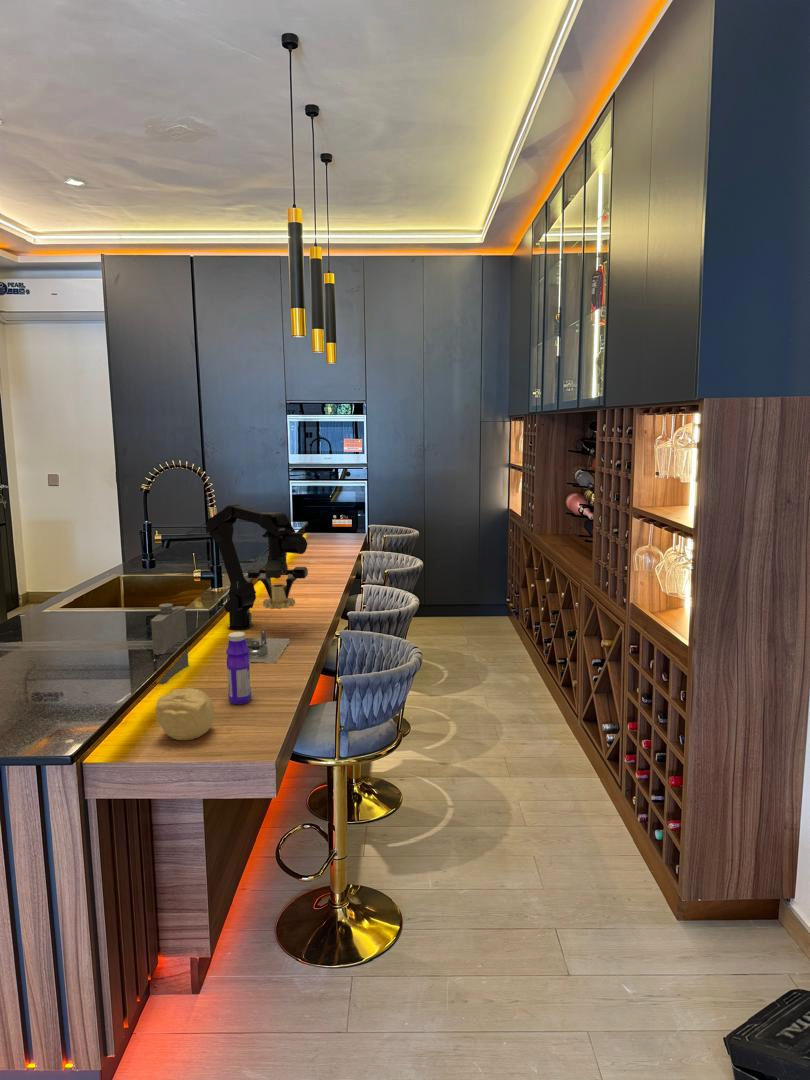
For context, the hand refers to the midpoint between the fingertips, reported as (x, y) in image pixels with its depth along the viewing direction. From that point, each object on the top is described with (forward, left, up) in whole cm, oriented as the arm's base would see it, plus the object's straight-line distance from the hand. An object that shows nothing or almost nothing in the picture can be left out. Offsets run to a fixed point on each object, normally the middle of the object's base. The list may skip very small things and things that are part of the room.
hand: (278, 598), depth 231 cm
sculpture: (-3, -76, -13) cm, 77 cm away
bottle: (+3, -56, -13) cm, 58 cm away
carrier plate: (-2, -18, -12) cm, 22 cm away
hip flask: (-22, -38, -13) cm, 46 cm away
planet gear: (0, 0, -2) cm, 2 cm away
